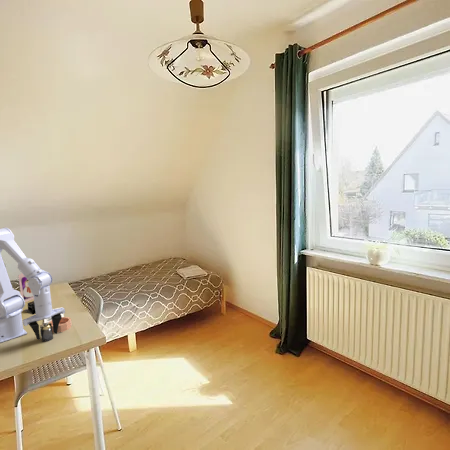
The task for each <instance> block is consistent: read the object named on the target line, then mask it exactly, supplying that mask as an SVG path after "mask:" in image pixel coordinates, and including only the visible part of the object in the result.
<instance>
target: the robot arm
mask: <svg viewBox="0 0 450 450" xmlns="http://www.w3.org/2000/svg"><path fill="white" fill-rule="evenodd" d="M3 250H4V251H5V252H6V253H7V254H8V255H9V256H10V257H11V258H12V259H13V260H14V261H15V262H16V263H17V269H18V270H19V271H20V272H21V273H23V275H24V276H25V277H26V278H27V279H28V280H29V283H28V286H29V288H30V289H31V292H32V294H33V296H34V299H33V301H34V304H35V312H36V314H33V315H31V316H29V317H26V318H23V317H22V312H24V311H23V310H24V308H25V306H26V302H25V300H24V298H23V297H22V296H21V291H19V290H17V289H14V288H13V285H12V283H11V279H10V277H9V274H8V271H7V268H6V265H5V262H4V260H3V257H2V256H3V255H2V251H3ZM52 276H53V275H51V273H50V272H48V271H46V270H44V269H41V268H40V266H39V265H38V263H36V262H35V260H34V259H33V258H30V257H27V256H26V254H25V253H24V252H23V251H22V249H21V248H20V246H19V245H18V244H17V242H16V241H15V234H14V233H13V231H12V230H11V229H10V228H8V227H2V228H0V343H4V342H6V341H7V342H8V341H9V340H13V339H15V338H18V337H21V336H24V335H27V334H28V332H27V331H26V330H25V329H24V326H25V327H26V326H28V325H29V327H30V328H31V330H32V331H33V332H34V335H35V338H36V340H38V341H40V340H41V333H40V324H39V323H38V322H39V321H42V320H43V321H44V319H48V318H52V323H53V331H54V333H53V334H55V335H57V334H58V333H57V331H58V326H59V323H60V320H61V318H62V316H61V315H60V314H64V315H65V314H66V310H65V309H66V308H64V307H63V308H61V307H58V308H59V309H56V308H53V304H52V294H51V288H50V287H51V286H50V285H52V283H53V277H52ZM52 309H54V310H52Z"/></svg>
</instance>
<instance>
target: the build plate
mask: <svg viewBox="0 0 450 450" xmlns="http://www.w3.org/2000/svg"><path fill="white" fill-rule="evenodd" d="M22 310H23V311H22V312H25V313H28V314H29V315H31V316H33V315H36V312H35V304H34V300H33V301H32V300H31V301H30V302H29V301H28V302H27V308H26V309H22Z"/></svg>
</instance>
